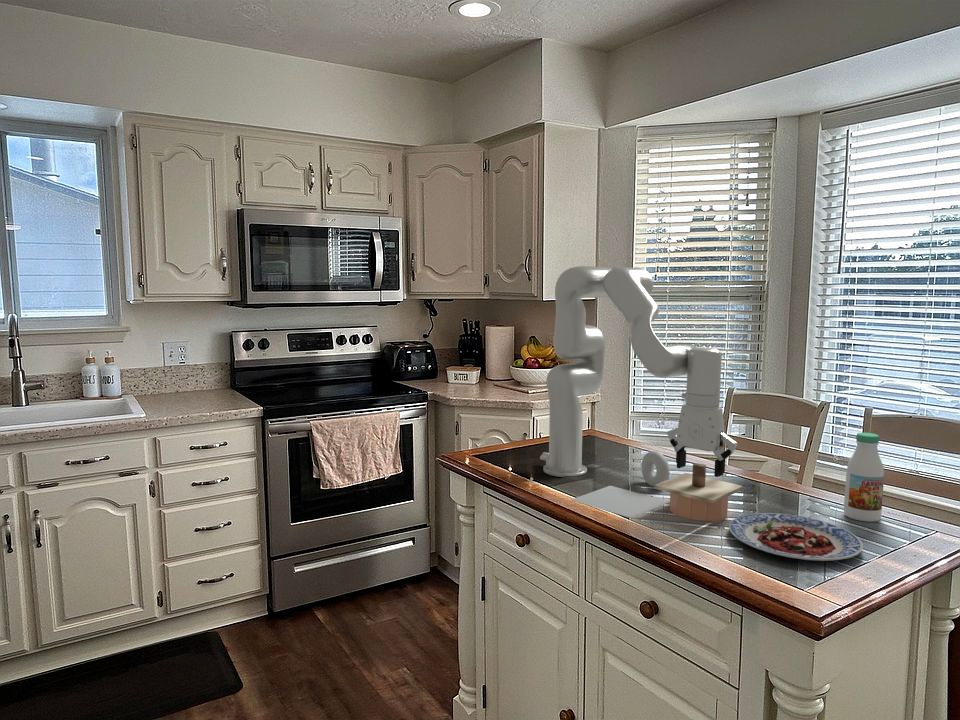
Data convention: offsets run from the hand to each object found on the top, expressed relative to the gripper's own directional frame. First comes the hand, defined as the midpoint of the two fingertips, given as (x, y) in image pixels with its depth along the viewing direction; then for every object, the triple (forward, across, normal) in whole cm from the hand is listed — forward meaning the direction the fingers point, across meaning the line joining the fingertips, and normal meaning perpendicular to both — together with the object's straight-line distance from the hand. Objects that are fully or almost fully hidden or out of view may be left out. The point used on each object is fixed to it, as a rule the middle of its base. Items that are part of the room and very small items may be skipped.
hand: (699, 471), depth 158 cm
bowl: (+10, 0, 0) cm, 10 cm away
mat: (+10, -17, -8) cm, 21 cm away
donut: (+10, -18, +10) cm, 23 cm away
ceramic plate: (+11, +23, -2) cm, 25 cm away
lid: (+4, 0, 0) cm, 4 cm away
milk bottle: (+10, +28, +26) cm, 40 cm away
